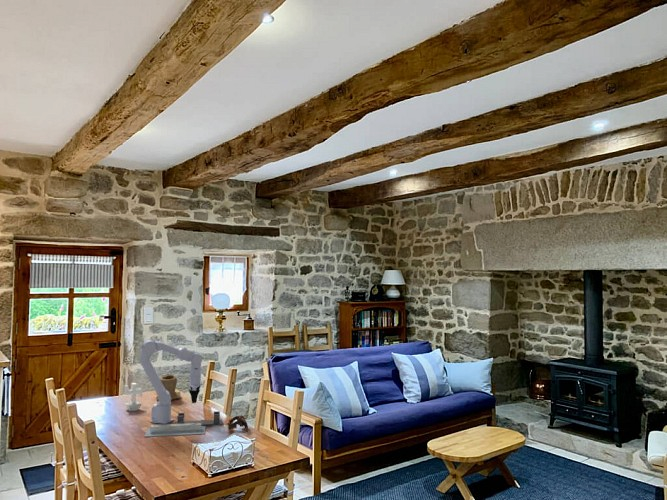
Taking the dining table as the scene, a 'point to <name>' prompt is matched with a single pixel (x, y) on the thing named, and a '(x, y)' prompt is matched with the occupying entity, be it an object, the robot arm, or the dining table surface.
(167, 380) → the stone cup
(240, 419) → the brown arched figure
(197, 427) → the steel rail
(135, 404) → the figurine
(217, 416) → the hook standards
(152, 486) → the dining table surface
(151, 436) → the slate mat
